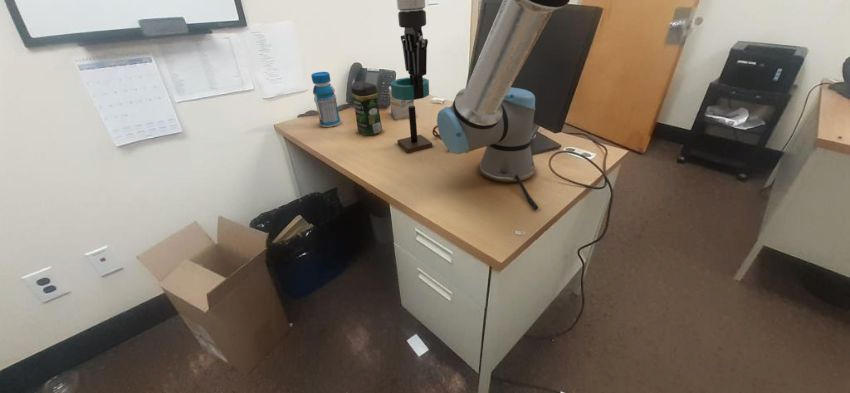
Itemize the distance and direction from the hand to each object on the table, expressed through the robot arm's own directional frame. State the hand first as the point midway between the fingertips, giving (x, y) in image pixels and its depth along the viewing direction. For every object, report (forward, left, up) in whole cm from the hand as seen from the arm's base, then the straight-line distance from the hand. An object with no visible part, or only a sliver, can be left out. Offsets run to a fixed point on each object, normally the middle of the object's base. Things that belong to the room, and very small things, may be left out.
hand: (417, 97), depth 106 cm
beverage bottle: (+44, +20, -18) cm, 52 cm away
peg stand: (+5, 0, -18) cm, 18 cm away
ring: (+5, 0, 0) cm, 5 cm away
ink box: (+36, -9, -18) cm, 41 cm away
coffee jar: (+26, +9, -18) cm, 33 cm away
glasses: (0, -14, -18) cm, 23 cm away
